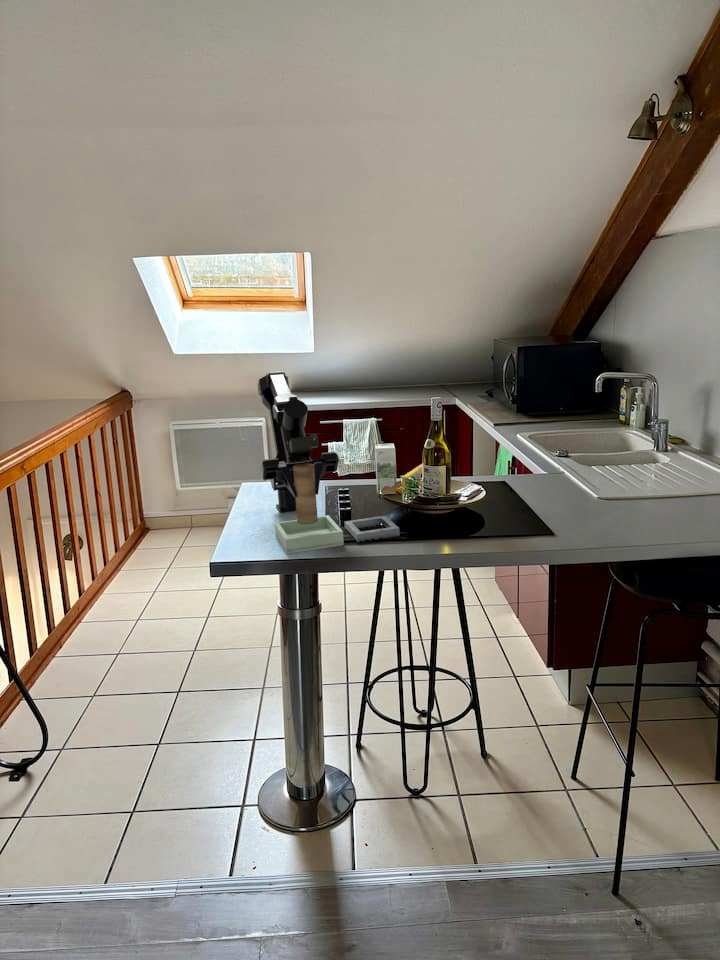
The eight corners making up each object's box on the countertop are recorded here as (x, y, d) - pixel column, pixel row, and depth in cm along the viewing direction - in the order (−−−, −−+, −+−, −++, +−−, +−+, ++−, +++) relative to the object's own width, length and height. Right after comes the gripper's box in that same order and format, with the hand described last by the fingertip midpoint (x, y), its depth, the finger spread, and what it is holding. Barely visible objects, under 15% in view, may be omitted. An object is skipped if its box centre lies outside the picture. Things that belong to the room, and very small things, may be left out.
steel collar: (344, 528, 190) (344, 521, 190) (385, 522, 193) (385, 515, 193) (357, 542, 180) (356, 534, 180) (399, 535, 183) (399, 528, 183)
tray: (275, 535, 188) (274, 522, 187) (329, 527, 192) (328, 515, 191) (286, 553, 175) (285, 539, 174) (343, 545, 179) (342, 531, 178)
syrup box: (395, 489, 223) (393, 442, 220) (397, 495, 218) (395, 446, 214) (376, 490, 223) (374, 443, 219) (377, 496, 217) (375, 447, 214)
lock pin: (300, 517, 185) (296, 463, 181) (319, 518, 184) (316, 463, 180) (294, 524, 180) (290, 468, 177) (314, 524, 179) (310, 468, 176)
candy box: (408, 505, 207) (407, 477, 205) (401, 505, 208) (400, 476, 206) (428, 490, 221) (427, 463, 219) (421, 489, 222) (421, 462, 220)
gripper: (258, 427, 177) (269, 483, 170) (334, 419, 182) (348, 473, 174) (257, 452, 187) (267, 506, 179) (329, 444, 191) (342, 496, 184)
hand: (306, 495), depth 179 cm, fingers closed on lock pin, 5 cm apart
